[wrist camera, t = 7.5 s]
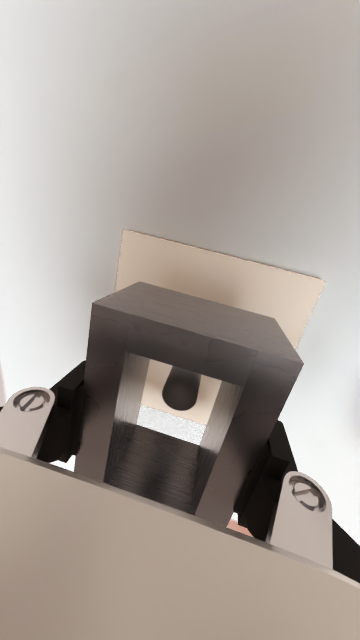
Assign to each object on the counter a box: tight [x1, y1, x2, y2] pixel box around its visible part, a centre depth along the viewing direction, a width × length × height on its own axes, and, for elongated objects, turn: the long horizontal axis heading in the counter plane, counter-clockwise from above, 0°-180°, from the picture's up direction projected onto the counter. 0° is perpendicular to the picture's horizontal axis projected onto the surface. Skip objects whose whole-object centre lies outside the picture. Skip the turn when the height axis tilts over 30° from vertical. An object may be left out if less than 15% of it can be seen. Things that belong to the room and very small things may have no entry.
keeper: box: [114, 230, 326, 425], centre depth 14 cm, size 12×12×6 cm
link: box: [74, 281, 304, 527], centre depth 10 cm, size 9×6×4 cm, turn 167°
